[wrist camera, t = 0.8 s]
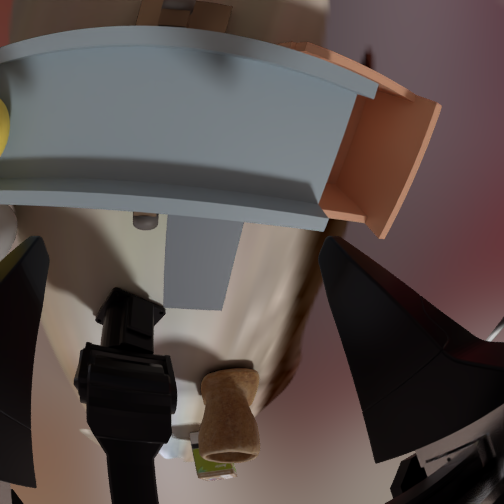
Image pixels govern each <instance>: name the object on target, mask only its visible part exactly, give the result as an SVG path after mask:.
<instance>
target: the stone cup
mask: <svg viewBox="0 0 504 504" xmlns="http://www.w3.org/2000/svg"><path fill="white" fill-rule="evenodd" d="M258 385H259V374H258V372H257V371H255V370H253V369H246V368H235V369H226V370H220V371H216V372H213V373H209V374H207V375H206V376H204V378H203V380H202V383H201V394H202V398H203V402H204V405H206V407H205V412H204V417H203V420H202V423H201V427H200V430H199V435H198V444H199V454H200V456H201V457H202V458H203V459H205V460H208V461H214V462H218V463H241V462H247V461H250V460H253V459H255V458H256V457H257V456H258V454H259V451H260V439H259V432H258V426H257V423H256V420H255V418H254V416H253V414H252V413H251V410H250V407H249V406H250V405H251V404H252V402H253V400H254V397H255V395H256V392H257V388H258Z"/></svg>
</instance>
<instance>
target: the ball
mask: <svg viewBox="0 0 504 504" xmlns="http://www.w3.org/2000/svg"><path fill="white" fill-rule="evenodd" d="M9 132H10V118H9V113H8V110H7V107H6V105H5V104H4V102H3V101H2V100H1V99H0V156H1V154H2V153H3V151H4V149H5V146H6V144H7V141H8V137H9Z"/></svg>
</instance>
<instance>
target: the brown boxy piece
mask: <svg viewBox="0 0 504 504" xmlns="http://www.w3.org/2000/svg"><path fill="white" fill-rule="evenodd" d="M276 45H279V46H283V47H286V48H290V49H293V50H296V51H299V52H302V53H305V54H308V55H311V56H314V57H317V58H320V59H322V60H325V61H328V62H330V63H333V64H335V65H338V66H340V67H343V68H345V69H347V70H350V71H352V72H354V73H357V74H359V75H361V76H363V77H365V78H367V79H370V80H372V81H374V82H376V83H378V84H379V85H378V88H377V91H376V95H375V98H374V99H371V98H368V97H365V96H362V95H358V94H357V97H356V100H355V103H354V106H353V109H352V112H351V115H350V118H349V121H348V124H347V127H346V130H345V133H344V136H343V139H342V141H341V144H340V147H339V150H338V153H337V155H336V158H335V161H334V164H333V166H332V169H331V172H330V175H329V177H328V180H327V183H326V185H325V188H324V191H323V193H322V196H321V199H320V201H319V204H318V205H319V206H320V207H321V209H322V210H323V211H324V213H325V214H326V215H327V217H328V218H332V219H340V220H347V221H354V222H361V223H365V224H366V225H367V226H368V227H369V228H370V229H371V230H372V232H374V234H375V235H376V236H377V237H378V238H379V239H385V237H386V235H387V233H388V231H389V229H390V227H391V225H392V223H393V221H394V219H395V217H396V215H397V213H398V211H399V209H400V207H401V205H402V203H403V201H404V199H405V197H406V195H407V193H408V190H409V188H410V186H411V184H412V182H413V179H414V177H415V175H416V173H417V170H418V168H419V166H420V163H421V161H422V158H423V156H424V154H425V151H426V149H427V146H428V143H429V141H430V138H431V135H432V133H433V130H434V127H435V125H436V122H437V119H438V116H439V113H440V110H441V107H442V106H441V105H440V104H438V103H437V102H434V101H432V100H429V99H426V98H423V97H420V96H417V95H415V94H414V93H412V92H411V91H409V90H407V89H406V88H404V87H402V86H401V85H399V84H397V83H396V82H394V81H392V80H390V79H389V78H387V77H385V76H383V75H381V74H379V73H378V72H376V71H374V70H372V69H370V68H368V67H366V66H364V65H362V64H360V63H358V62H356V61H353V60H351V59H349V58H347V57H345V56H342V55H340V54H337V53H335V52H333V51H330V50H328V49H326V48H323V47H320V46H318V45H315V44H313V43H310V42H300V43H296V42H293V41H291V42H285V43H279V44H276Z"/></svg>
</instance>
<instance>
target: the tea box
mask: <svg viewBox="0 0 504 504" xmlns="http://www.w3.org/2000/svg"><path fill="white" fill-rule="evenodd" d="M198 435H199V432H193V433H190V441H191V446H192V451H193V456H194V461H195V466H196V471H197V475H198V478H200V479H203V480H206V481H213V480H221V479H228V478H233V477H237V473H236V470H235V466H234V463H218V462H214V461H208V460H205V459H203V458H202V457H201V456H200V454H199V444H198Z"/></svg>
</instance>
